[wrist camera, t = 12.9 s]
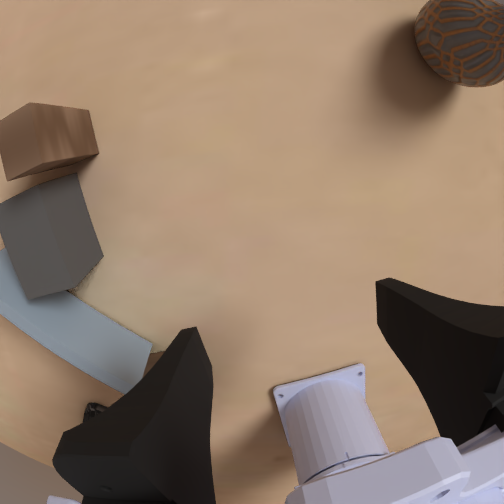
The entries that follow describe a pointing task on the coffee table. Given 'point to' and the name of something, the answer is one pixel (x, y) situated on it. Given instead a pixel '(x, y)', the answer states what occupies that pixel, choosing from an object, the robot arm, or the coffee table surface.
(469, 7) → the vase
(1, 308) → the door
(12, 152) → the door frame
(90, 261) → the block
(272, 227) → the coffee table surface
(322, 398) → the robot arm
